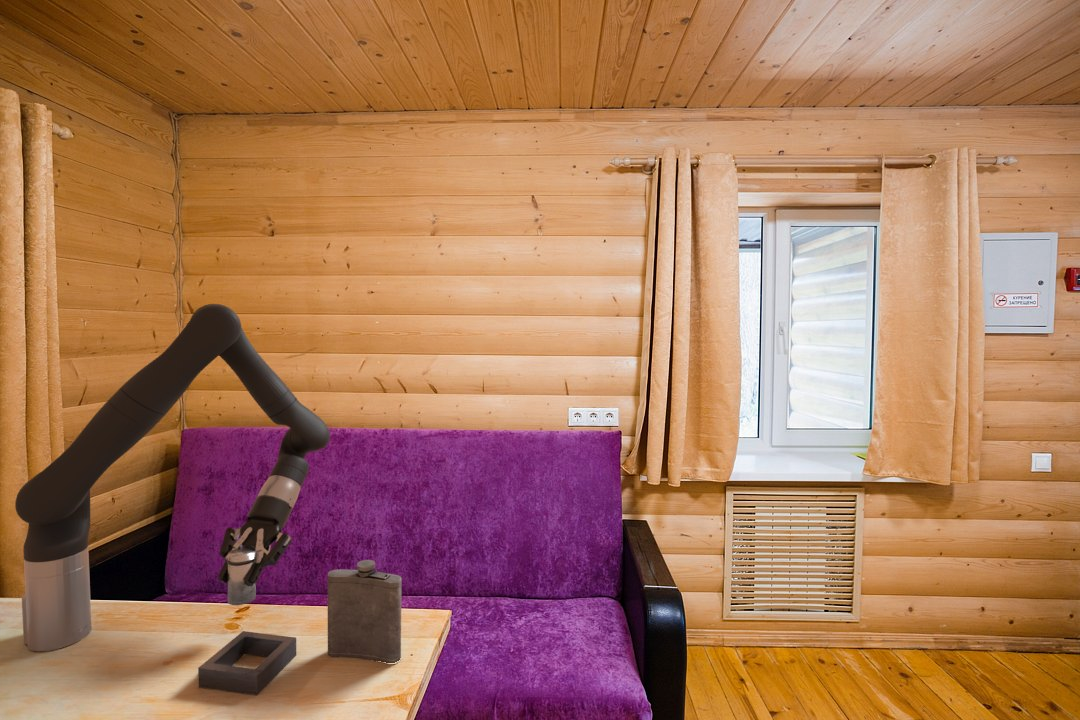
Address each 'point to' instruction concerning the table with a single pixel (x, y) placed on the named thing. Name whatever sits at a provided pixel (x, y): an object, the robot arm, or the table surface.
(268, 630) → the table surface
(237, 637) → the square frame
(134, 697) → the table surface
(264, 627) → the table surface
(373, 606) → the flask
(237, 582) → the silver metal cylinder
